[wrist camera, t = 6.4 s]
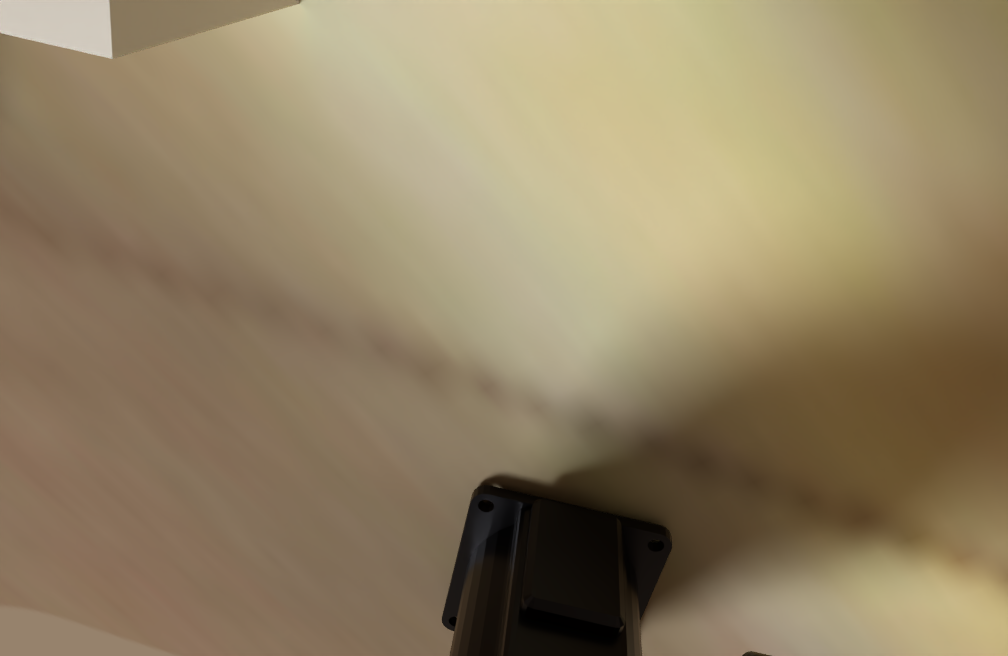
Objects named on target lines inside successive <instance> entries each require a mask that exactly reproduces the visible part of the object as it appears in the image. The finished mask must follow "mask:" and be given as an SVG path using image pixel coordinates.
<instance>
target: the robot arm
mask: <svg viewBox="0 0 1008 656" xmlns="http://www.w3.org/2000/svg"><path fill="white" fill-rule="evenodd" d="M482 500H489V501H491V502H492V503H491V504H486V503H484V502H482ZM652 540H660V542H657V543H656V542H651V541H652ZM671 549H672V540H671V534H670V532H669V530H667V529H666V528H665V527H663V526H660V525H656V524H652V523H648V522H643V521H639V520H635V519H631V518H626V517H622V516H618V515H613V514H609V513H605V512H601V511H596V510H592V509H588V508H583V507H579V506H575V505H571V504H566V503H562V502H558V501H553V500H549V499H545V498H540V497H536V496H532V495H528V494H523V493H519V492H515V491H510V490H506V489H502V488H498V487H493V486H486V485H484V486H480V487H478V488H476V489H475V490H474V492H473V494H472V497H471V501H470V505H469V509H468V514H467V518H466V522H465V526H464V530H463V534H462V538H461V542H460V546H459V550H458V554H457V558H456V562H455V566H454V570H453V574H452V578H451V583H450V587H449V591H448V595H447V599H446V603H445V607H444V611H443V616H442V623H443V625H444V626H445V627H446V628H448V629H450V630H452V631H454V636H453V641H452V646H451V651H450V656H642V647H641V632H640V619H641V617H642V615H643V613H644V610H645V608H646V606H647V604H648V601H649V599H650V597H651V594H652V592H653V590H654V588H655V585H656V583H657V581H658V579H659V576H660V574H661V572H662V569H663V567H664V565H665V563H666V560H667V558H668V556H669V554H670V551H671ZM743 656H771V655H766V654H762V653H757V652H753V651H750V652H746V653H745V654H744V655H743Z"/></svg>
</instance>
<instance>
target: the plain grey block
mask: <svg viewBox="0 0 1008 656" xmlns="http://www.w3.org/2000/svg"><path fill="white" fill-rule="evenodd" d="M296 4H299V0H0V33H3V34H7V35H11V36H16V37H20V38H24V39H29V40H33V41H37V42H42V43H46V44H50V45H55V46H59V47H63V48H68V49H72V50H76V51H81V52H85V53H89V54H94V55H98V56H102V57H107V58H111V59H114V58H117V57H121V56H124V55H127V54H131V53H134V52H137V51H141V50H144V49H148V48H151V47H154V46H158V45H161V44H164V43H168V42H171V41H175V40H178V39H181V38H185V37H188V36H191V35H195V34H198V33H202V32H205V31H208V30H212V29H215V28H219V27H222V26H225V25H229V24H232V23H235V22H239V21H242V20H246V19H249V18H252V17H256V16H259V15H262V14H266V13H269V12H273V11H276V10H279V9H283V8H286V7H289V6H293V5H296Z"/></svg>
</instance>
